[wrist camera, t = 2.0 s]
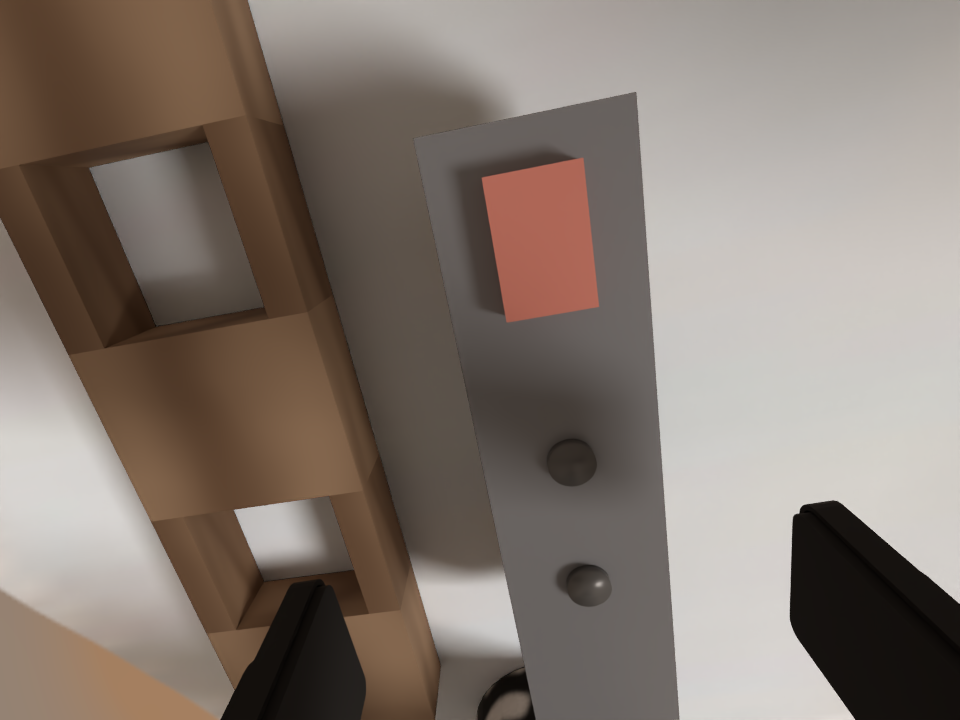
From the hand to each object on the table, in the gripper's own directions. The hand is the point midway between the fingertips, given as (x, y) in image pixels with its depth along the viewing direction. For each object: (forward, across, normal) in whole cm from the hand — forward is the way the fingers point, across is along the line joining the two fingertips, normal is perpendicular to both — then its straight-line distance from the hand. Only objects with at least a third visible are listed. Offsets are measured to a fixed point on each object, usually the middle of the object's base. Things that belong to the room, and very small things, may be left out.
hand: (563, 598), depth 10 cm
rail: (+9, +10, -2) cm, 14 cm away
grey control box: (+9, -1, 0) cm, 9 cm away
